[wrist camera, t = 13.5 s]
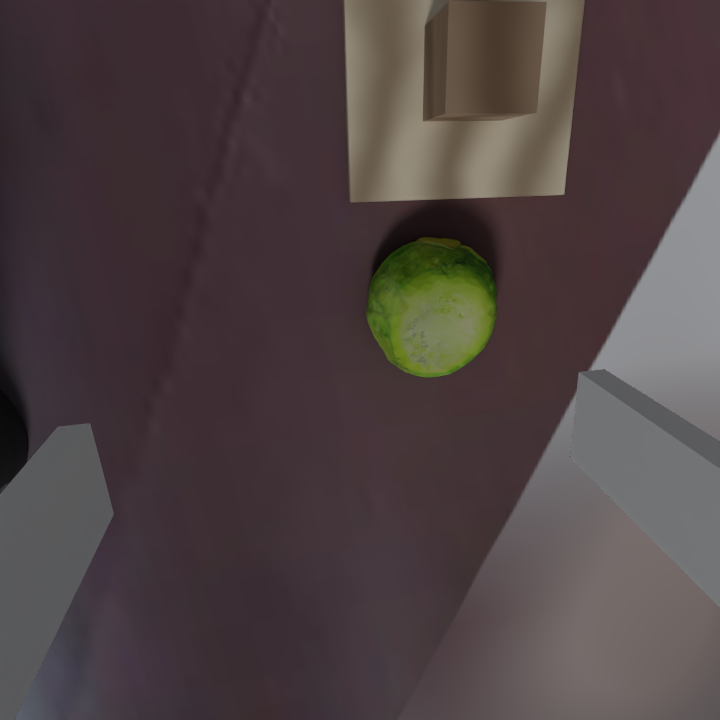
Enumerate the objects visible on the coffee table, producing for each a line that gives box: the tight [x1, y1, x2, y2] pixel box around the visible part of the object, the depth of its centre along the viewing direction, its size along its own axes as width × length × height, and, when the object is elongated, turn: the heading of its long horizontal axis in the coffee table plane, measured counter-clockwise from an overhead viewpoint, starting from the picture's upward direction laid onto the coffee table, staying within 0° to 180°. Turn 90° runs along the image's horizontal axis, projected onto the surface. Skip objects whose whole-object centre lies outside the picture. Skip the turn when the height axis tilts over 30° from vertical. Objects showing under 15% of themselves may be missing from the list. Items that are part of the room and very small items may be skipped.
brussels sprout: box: [366, 237, 497, 377], centre depth 42 cm, size 12×11×5 cm
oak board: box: [343, 0, 585, 202], centre depth 38 cm, size 17×17×1 cm
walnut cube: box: [423, 1, 547, 122], centre depth 35 cm, size 6×6×6 cm
